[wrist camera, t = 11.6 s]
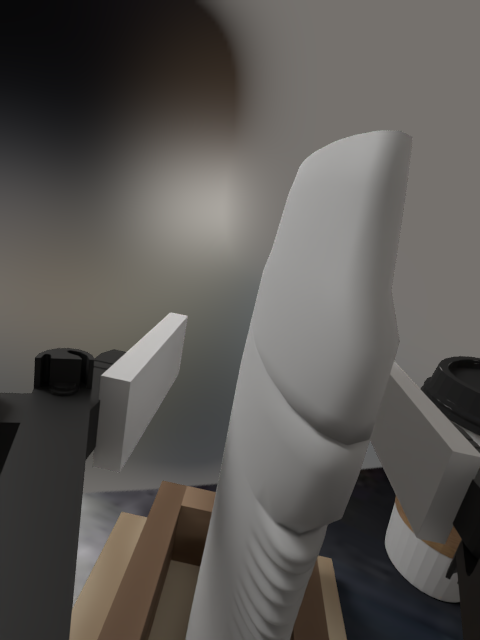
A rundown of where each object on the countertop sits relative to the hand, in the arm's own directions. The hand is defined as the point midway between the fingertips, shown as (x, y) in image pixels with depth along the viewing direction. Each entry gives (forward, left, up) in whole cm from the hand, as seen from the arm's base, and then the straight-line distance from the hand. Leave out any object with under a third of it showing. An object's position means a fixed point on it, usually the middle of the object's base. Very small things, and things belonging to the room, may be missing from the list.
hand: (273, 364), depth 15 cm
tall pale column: (0, -4, -14) cm, 15 cm away
